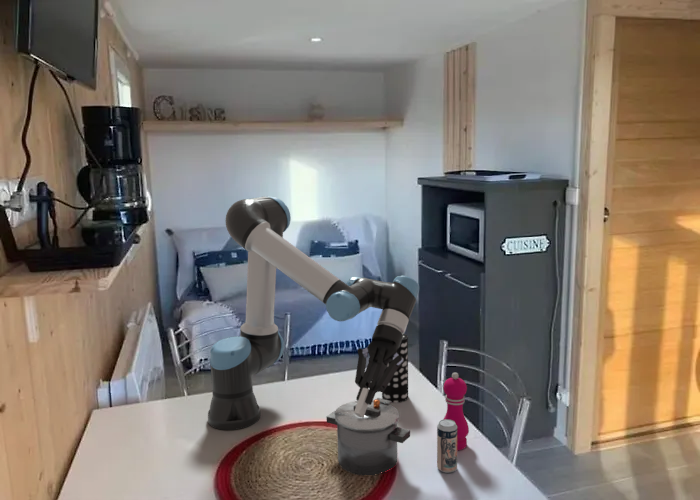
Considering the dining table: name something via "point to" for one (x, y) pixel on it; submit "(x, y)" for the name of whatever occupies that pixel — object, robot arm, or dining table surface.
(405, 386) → the white-spotted black cylinder
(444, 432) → the beer can
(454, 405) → the pepper mill
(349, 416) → the pot lid
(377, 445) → the cooking pot
